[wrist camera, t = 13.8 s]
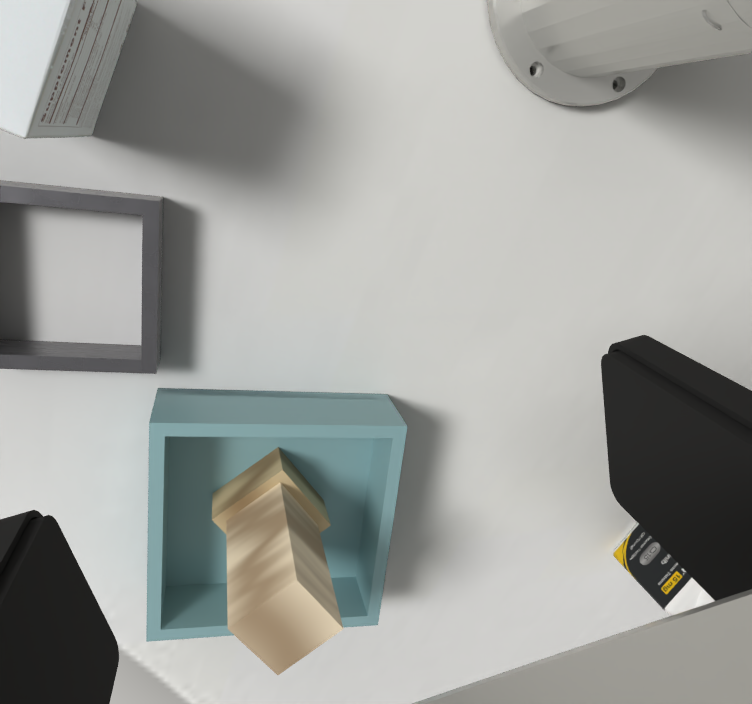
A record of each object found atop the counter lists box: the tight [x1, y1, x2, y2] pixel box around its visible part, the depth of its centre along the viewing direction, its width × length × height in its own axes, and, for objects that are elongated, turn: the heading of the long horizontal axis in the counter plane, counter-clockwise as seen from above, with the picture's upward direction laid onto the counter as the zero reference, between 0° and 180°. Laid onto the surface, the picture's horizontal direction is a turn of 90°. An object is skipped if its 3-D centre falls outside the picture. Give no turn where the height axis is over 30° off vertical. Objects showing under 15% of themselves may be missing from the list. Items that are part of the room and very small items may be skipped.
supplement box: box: [0, 0, 137, 139], centre depth 25 cm, size 7×7×13 cm
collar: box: [0, 180, 163, 374], centre depth 34 cm, size 10×10×2 cm
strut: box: [212, 447, 343, 675], centre depth 36 cm, size 5×5×12 cm
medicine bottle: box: [613, 523, 715, 616], centre depth 47 cm, size 7×7×12 cm
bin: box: [146, 388, 407, 641], centre depth 40 cm, size 15×15×5 cm
